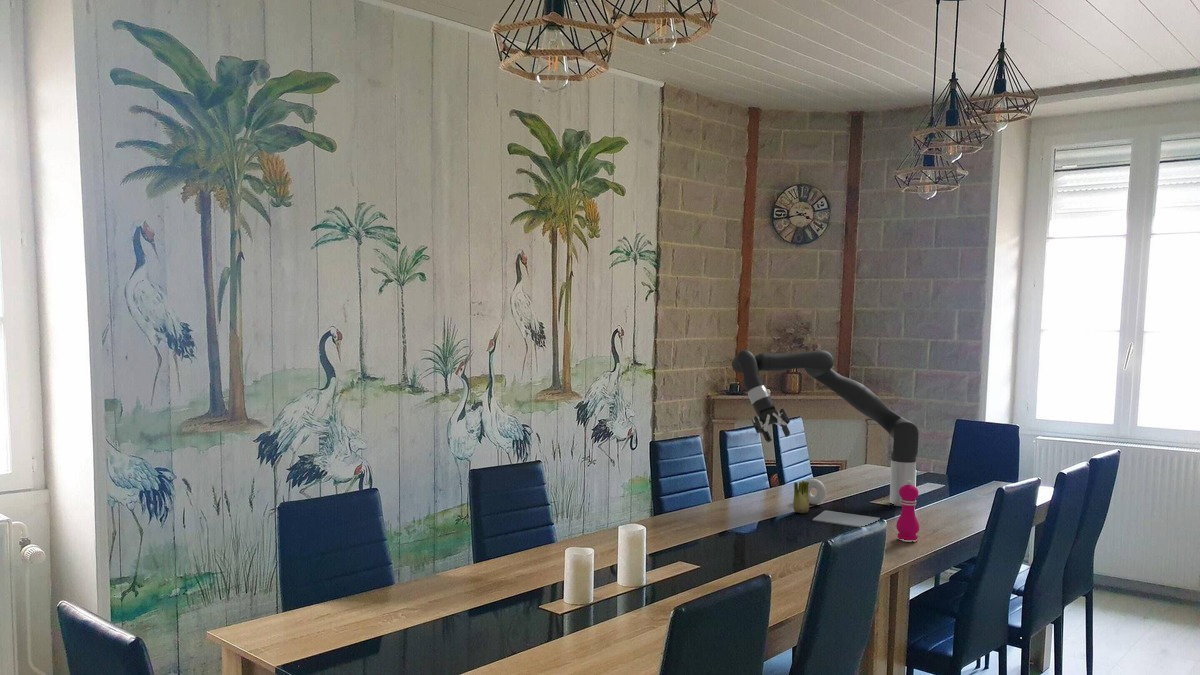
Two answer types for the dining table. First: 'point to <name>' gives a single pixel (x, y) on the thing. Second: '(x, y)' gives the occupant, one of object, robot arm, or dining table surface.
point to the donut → (820, 491)
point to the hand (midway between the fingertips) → (778, 438)
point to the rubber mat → (844, 519)
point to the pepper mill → (908, 513)
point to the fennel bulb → (801, 497)
